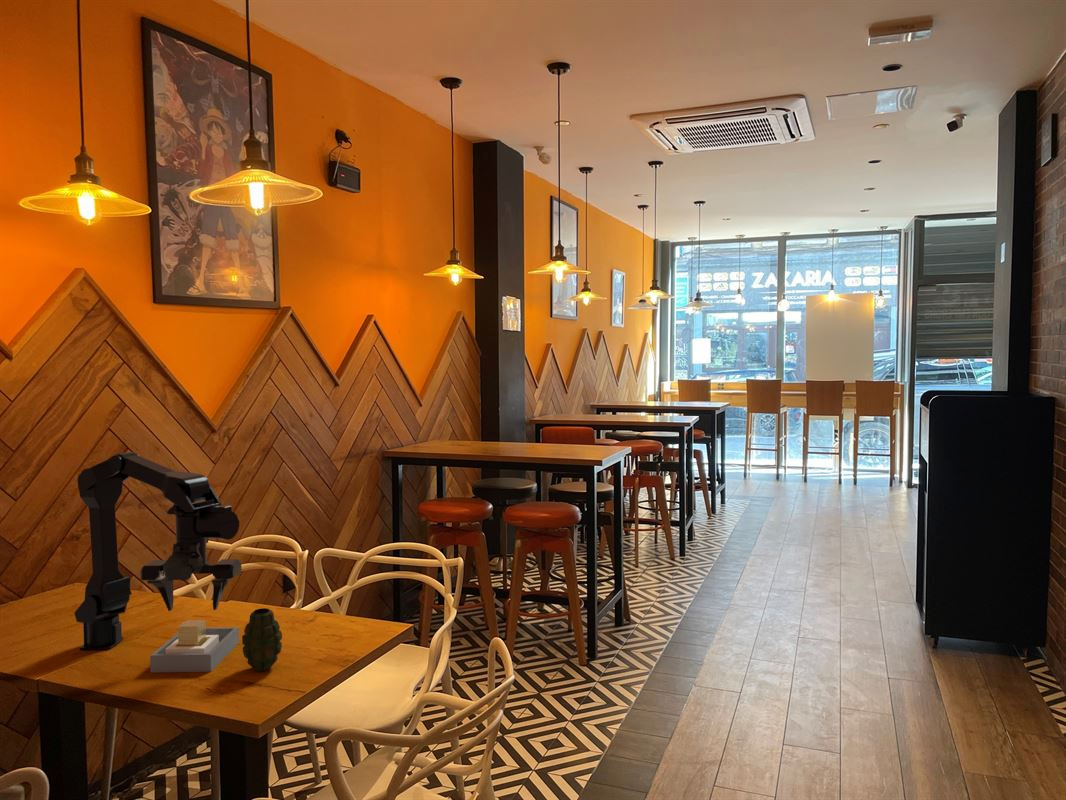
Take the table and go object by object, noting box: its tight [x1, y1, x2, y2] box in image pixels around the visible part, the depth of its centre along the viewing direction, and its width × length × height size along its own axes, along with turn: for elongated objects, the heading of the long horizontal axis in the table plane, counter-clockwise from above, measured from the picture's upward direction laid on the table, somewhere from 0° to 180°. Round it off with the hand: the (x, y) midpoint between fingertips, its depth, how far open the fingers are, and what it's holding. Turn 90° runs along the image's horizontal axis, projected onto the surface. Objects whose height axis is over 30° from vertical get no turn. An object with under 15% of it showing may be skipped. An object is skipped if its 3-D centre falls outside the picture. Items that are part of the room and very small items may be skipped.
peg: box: [177, 619, 207, 647], centre depth 157 cm, size 4×4×8 cm
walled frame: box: [149, 626, 240, 674], centre depth 159 cm, size 12×16×4 cm
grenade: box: [241, 607, 283, 672], centre depth 153 cm, size 8×8×12 cm
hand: (192, 610), depth 157 cm, fingers open, 9 cm apart
